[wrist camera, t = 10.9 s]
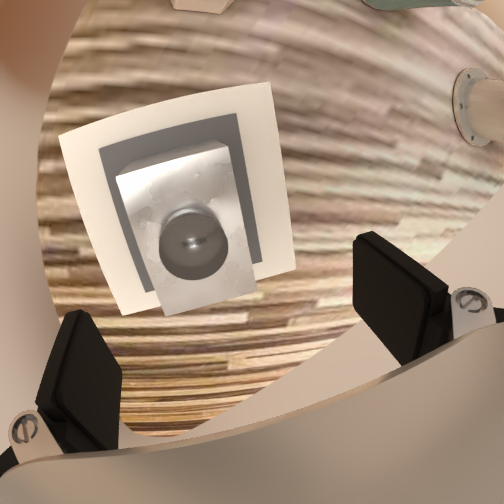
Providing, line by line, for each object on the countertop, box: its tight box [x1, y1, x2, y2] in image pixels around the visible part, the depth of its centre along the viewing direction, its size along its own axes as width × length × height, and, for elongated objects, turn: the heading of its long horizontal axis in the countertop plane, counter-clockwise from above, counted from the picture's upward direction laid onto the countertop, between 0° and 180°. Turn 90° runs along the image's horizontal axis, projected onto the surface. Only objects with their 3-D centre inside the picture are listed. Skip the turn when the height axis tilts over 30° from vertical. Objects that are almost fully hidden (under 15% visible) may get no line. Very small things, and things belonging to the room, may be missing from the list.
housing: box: [116, 139, 258, 316], centre depth 19 cm, size 6×9×7 cm, turn 10°
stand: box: [58, 82, 296, 315], centre depth 26 cm, size 16×16×9 cm
